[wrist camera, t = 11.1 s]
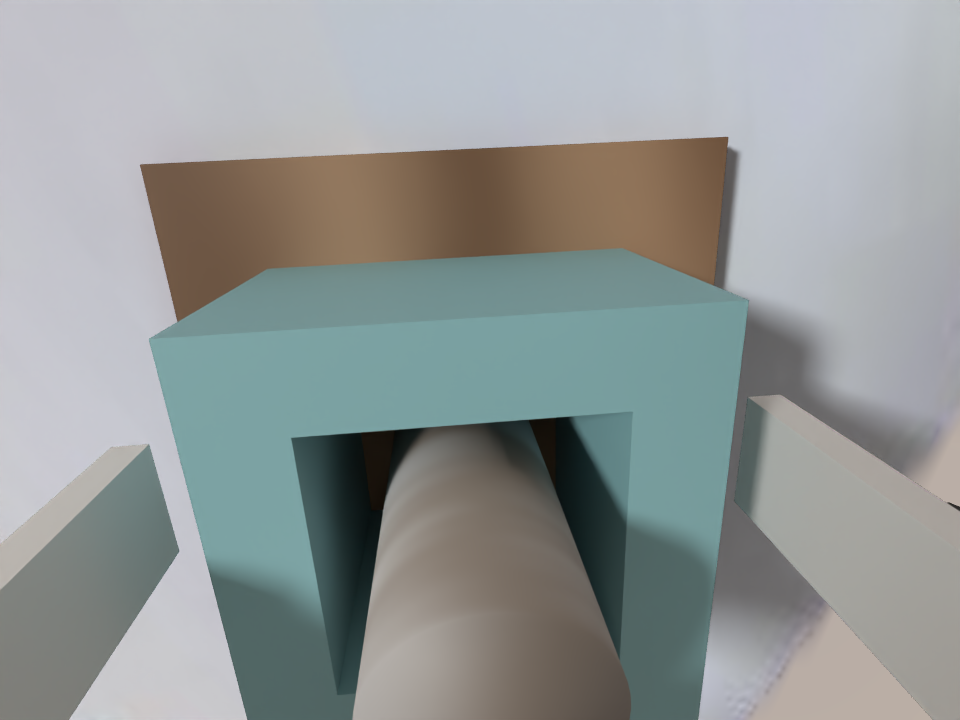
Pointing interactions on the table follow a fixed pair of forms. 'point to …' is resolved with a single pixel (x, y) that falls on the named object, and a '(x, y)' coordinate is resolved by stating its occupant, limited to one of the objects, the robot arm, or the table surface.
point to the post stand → (470, 447)
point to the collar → (444, 402)
